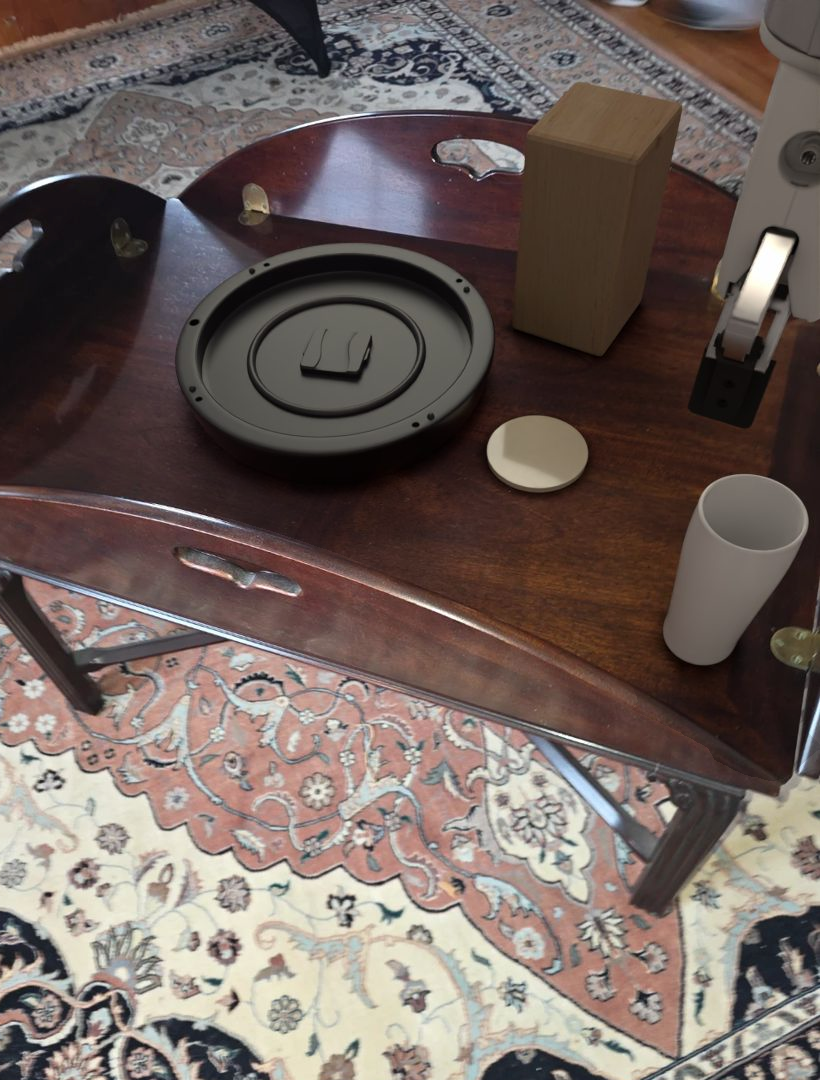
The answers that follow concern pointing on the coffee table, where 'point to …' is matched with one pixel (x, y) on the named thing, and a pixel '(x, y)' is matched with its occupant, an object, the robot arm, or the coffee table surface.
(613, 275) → the wooden block
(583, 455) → the coaster
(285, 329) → the round tray
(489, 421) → the coffee table surface
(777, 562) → the drinking glass
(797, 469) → the coffee table surface
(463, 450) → the coffee table surface
